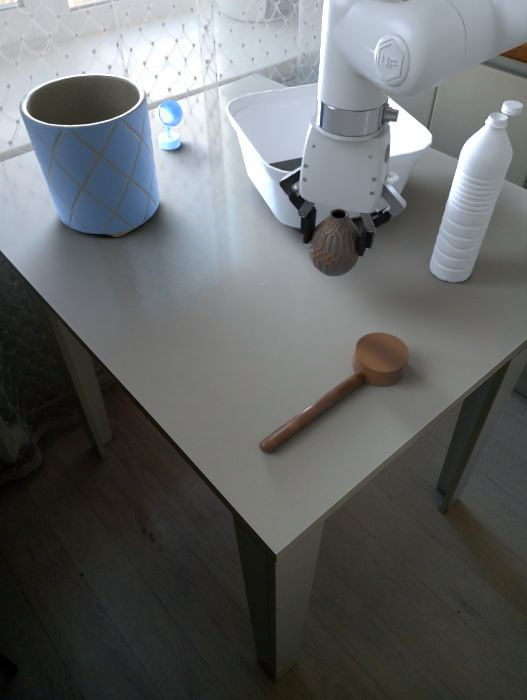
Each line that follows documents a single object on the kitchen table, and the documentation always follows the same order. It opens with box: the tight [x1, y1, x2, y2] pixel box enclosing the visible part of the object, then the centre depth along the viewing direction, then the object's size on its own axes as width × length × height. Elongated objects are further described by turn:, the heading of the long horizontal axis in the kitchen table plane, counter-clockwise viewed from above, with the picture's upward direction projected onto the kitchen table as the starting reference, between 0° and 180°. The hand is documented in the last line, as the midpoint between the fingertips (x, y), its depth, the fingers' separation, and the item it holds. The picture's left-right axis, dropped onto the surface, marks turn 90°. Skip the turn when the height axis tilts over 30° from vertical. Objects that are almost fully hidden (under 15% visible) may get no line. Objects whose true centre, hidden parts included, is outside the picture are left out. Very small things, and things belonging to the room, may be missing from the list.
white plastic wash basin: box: [225, 82, 433, 230], centre depth 96 cm, size 34×29×15 cm
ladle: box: [259, 331, 410, 454], centre depth 70 cm, size 24×7×3 cm, turn 131°
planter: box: [19, 73, 160, 238], centre depth 92 cm, size 19×19×20 cm
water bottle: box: [429, 99, 524, 283], centre depth 79 cm, size 9×6×25 cm
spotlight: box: [154, 98, 184, 151], centre depth 112 cm, size 5×10×7 cm
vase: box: [309, 209, 361, 277], centre depth 74 cm, size 7×7×9 cm
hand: (335, 243), depth 74 cm, fingers closed on vase, 6 cm apart
